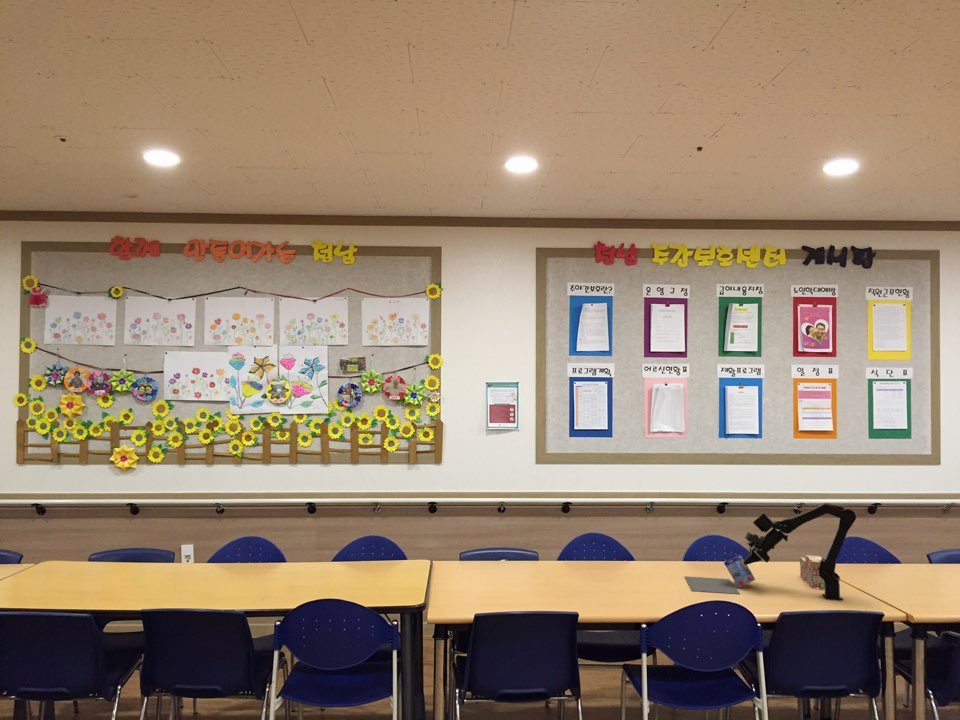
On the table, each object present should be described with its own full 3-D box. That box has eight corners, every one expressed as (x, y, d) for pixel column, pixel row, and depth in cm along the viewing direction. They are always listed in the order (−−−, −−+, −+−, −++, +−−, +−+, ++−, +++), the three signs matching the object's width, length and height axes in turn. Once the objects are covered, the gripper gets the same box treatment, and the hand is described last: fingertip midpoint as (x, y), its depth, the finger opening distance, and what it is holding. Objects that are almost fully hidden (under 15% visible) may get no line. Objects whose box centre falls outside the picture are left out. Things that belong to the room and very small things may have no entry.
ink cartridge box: (748, 583, 292) (729, 552, 299) (738, 588, 295) (719, 558, 301) (756, 579, 300) (737, 549, 306) (746, 584, 302) (728, 554, 309)
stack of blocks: (799, 576, 318) (799, 550, 319) (814, 577, 317) (813, 551, 317) (812, 589, 297) (812, 561, 298) (828, 590, 296) (827, 562, 296)
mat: (740, 594, 286) (740, 593, 286) (691, 591, 290) (691, 590, 290) (729, 579, 310) (729, 579, 310) (684, 576, 313) (684, 576, 313)
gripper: (752, 523, 307) (726, 545, 308) (761, 530, 289) (735, 555, 290) (770, 541, 305) (744, 564, 307) (781, 550, 287) (754, 574, 288)
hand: (744, 563), depth 298 cm, fingers closed
